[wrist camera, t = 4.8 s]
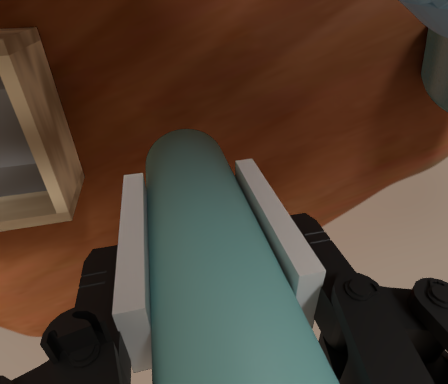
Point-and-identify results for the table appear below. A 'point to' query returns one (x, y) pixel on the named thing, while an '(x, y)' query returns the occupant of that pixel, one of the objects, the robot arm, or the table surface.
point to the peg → (218, 278)
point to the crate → (33, 138)
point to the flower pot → (436, 68)
